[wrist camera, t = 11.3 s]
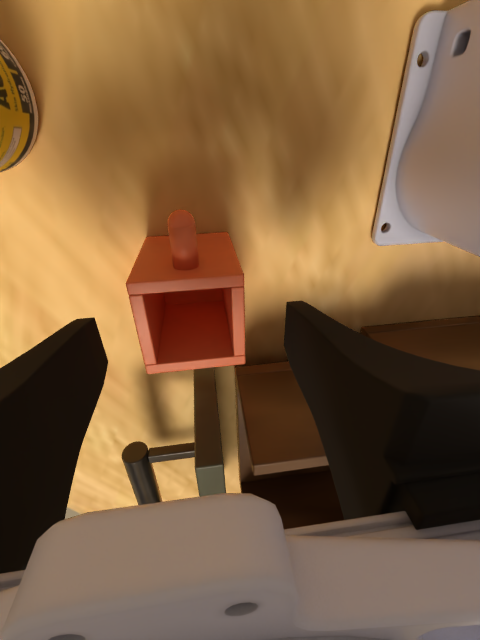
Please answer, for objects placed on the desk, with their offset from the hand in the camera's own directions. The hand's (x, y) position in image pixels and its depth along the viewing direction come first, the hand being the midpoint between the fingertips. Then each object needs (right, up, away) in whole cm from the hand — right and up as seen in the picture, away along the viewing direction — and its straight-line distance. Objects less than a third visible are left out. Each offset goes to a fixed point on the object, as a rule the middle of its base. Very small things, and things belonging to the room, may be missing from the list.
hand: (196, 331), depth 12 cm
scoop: (-1, +4, +5) cm, 6 cm away
